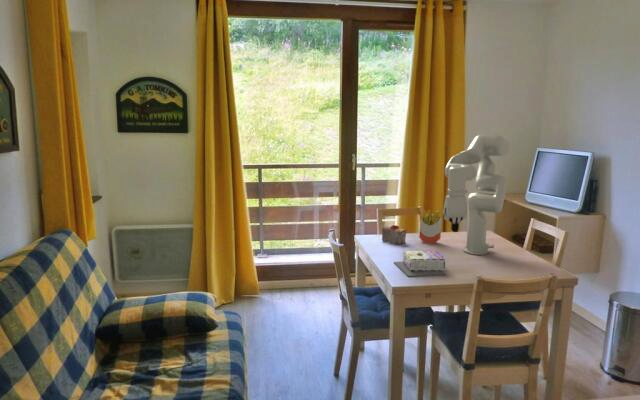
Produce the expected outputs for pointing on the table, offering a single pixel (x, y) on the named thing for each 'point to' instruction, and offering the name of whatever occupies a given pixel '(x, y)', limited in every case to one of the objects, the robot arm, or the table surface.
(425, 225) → the french fries container
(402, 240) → the food item
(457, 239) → the table surface
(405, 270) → the mat
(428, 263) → the candy box
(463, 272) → the table surface
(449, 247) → the table surface
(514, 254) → the table surface
